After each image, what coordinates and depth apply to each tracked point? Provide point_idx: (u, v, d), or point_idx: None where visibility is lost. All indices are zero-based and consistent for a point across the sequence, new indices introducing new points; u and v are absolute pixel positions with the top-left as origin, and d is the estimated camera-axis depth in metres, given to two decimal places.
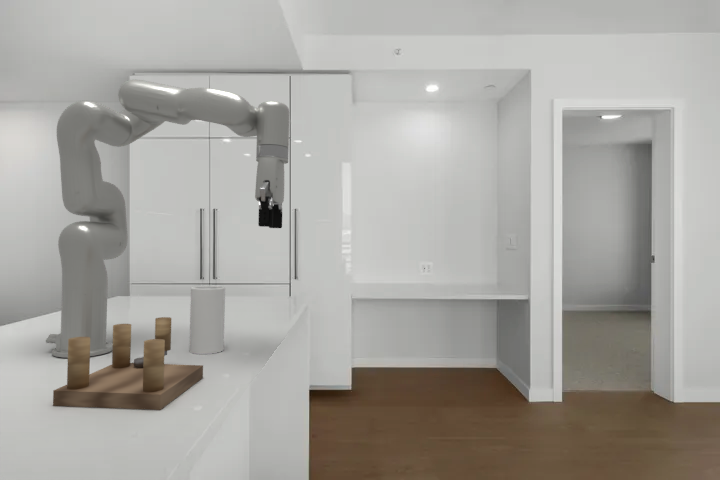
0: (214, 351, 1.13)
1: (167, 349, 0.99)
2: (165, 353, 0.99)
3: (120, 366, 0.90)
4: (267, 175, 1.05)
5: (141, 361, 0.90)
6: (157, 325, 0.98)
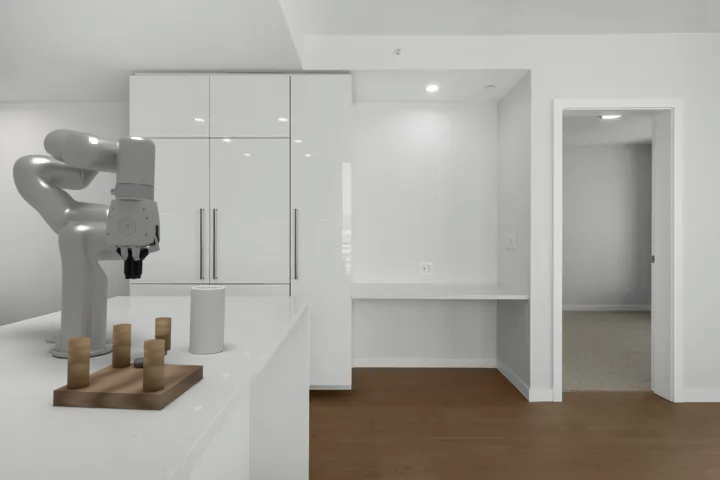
0: (214, 351, 1.13)
1: (167, 349, 0.99)
2: (165, 353, 0.99)
3: (120, 366, 0.90)
4: (157, 220, 1.00)
5: (141, 361, 0.90)
6: (157, 325, 0.98)
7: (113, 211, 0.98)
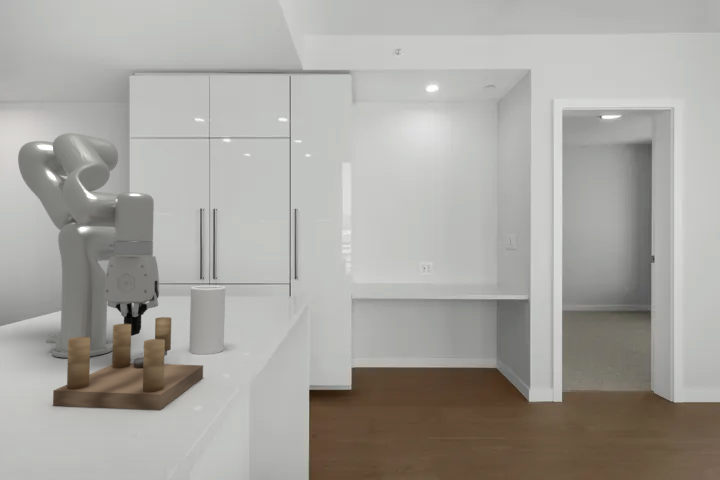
0: (214, 351, 1.13)
1: (167, 349, 0.99)
2: (165, 353, 0.99)
3: (120, 366, 0.90)
4: (156, 275, 1.00)
5: (141, 361, 0.90)
6: (157, 325, 0.98)
7: (112, 268, 0.98)
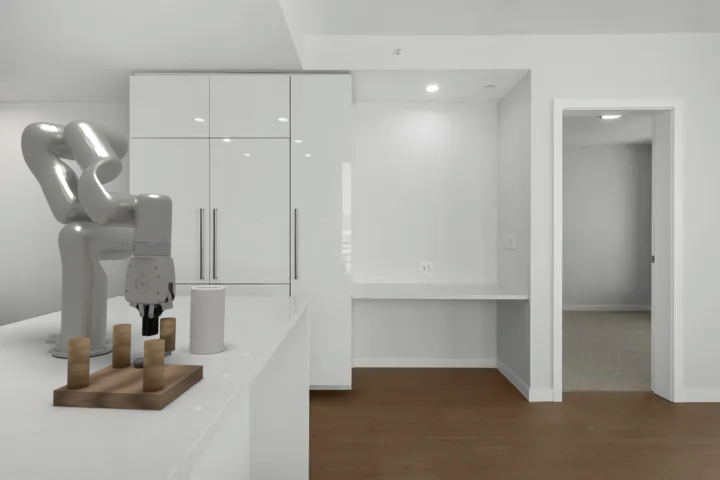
0: (214, 351, 1.13)
1: (171, 349, 0.99)
2: (169, 353, 0.99)
3: (120, 366, 0.90)
4: (171, 277, 0.99)
5: (140, 361, 0.90)
6: (161, 325, 0.98)
7: (130, 269, 0.99)
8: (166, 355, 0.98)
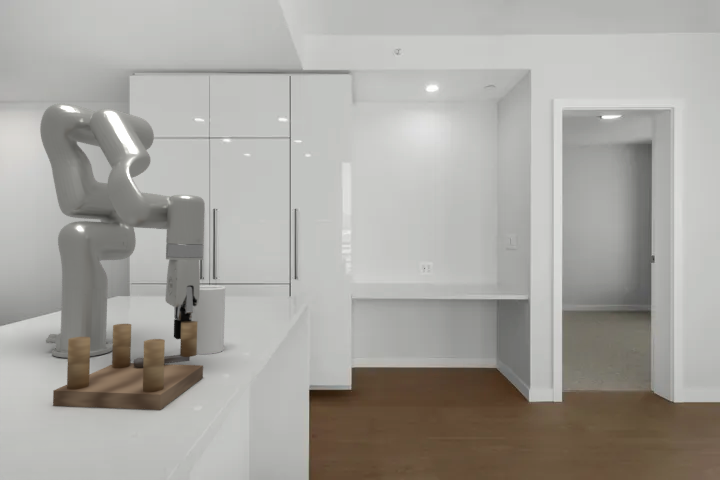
0: (214, 351, 1.13)
1: (186, 355, 0.94)
2: (185, 359, 0.95)
3: (120, 366, 0.90)
4: (191, 280, 0.95)
5: (135, 361, 0.90)
6: (181, 328, 0.96)
7: (168, 270, 1.00)
8: (180, 360, 0.94)
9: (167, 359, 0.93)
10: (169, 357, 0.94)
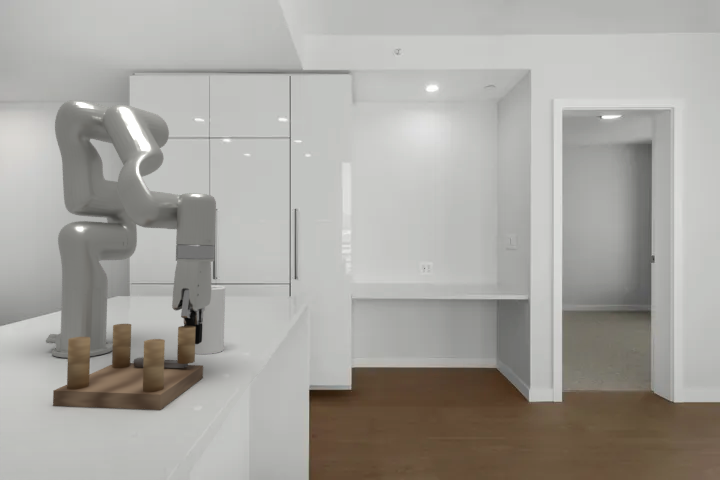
0: (214, 351, 1.13)
1: (179, 361, 0.89)
2: (179, 365, 0.90)
3: (120, 366, 0.90)
4: (186, 282, 0.90)
5: (134, 360, 0.90)
6: None
7: None
8: (174, 366, 0.90)
9: None
10: (166, 361, 0.90)
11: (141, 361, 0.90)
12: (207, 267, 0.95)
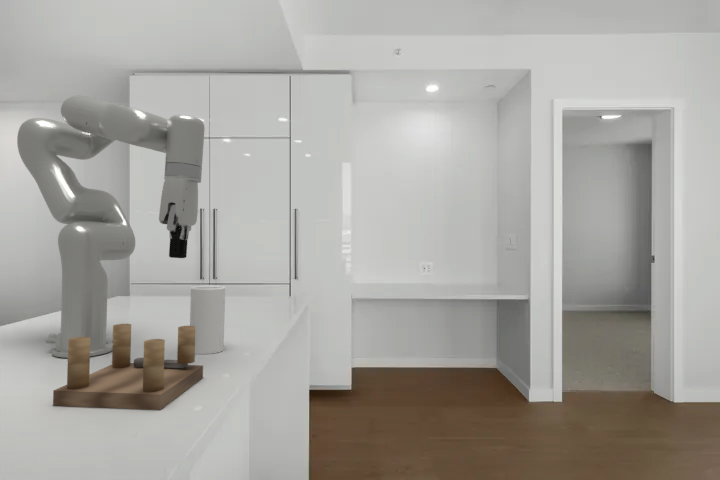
0: (214, 351, 1.13)
1: (179, 362, 0.89)
2: (179, 365, 0.90)
3: (120, 366, 0.90)
4: (173, 197, 0.96)
5: (134, 360, 0.90)
6: None
7: None
8: (174, 366, 0.90)
9: None
10: (166, 361, 0.90)
11: (141, 361, 0.90)
12: (194, 187, 1.01)
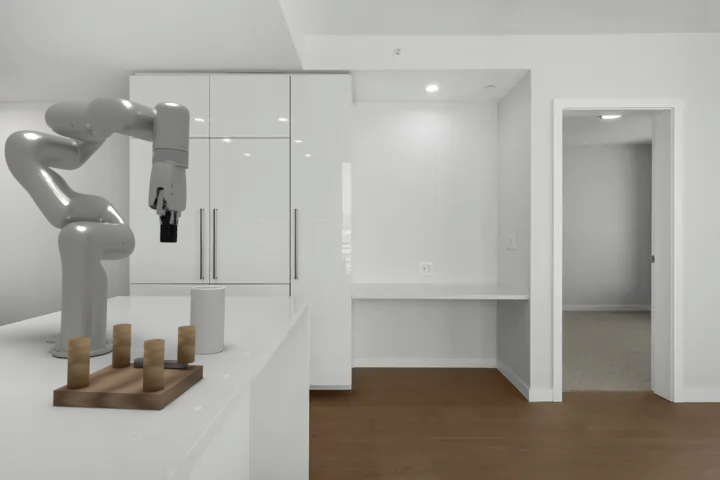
0: (214, 351, 1.13)
1: (179, 362, 0.89)
2: (179, 365, 0.90)
3: (120, 366, 0.90)
4: (161, 182, 0.98)
5: (134, 360, 0.90)
6: None
7: None
8: (174, 366, 0.90)
9: None
10: (166, 361, 0.90)
11: (141, 361, 0.90)
12: (181, 172, 1.03)
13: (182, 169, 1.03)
